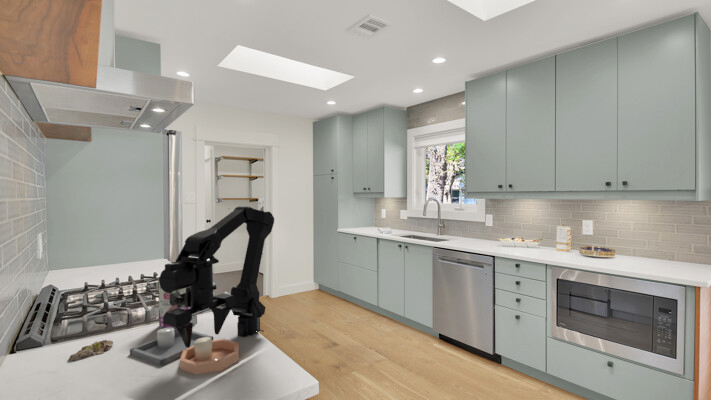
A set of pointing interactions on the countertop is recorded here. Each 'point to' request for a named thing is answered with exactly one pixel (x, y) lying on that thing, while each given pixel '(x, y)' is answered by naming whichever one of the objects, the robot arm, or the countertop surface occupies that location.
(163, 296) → the candy bar box
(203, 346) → the pebble sand
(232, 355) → the bowl
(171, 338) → the pebble grey
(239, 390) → the countertop surface
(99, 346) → the mineral rock
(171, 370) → the countertop surface
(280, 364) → the countertop surface
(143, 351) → the tray
